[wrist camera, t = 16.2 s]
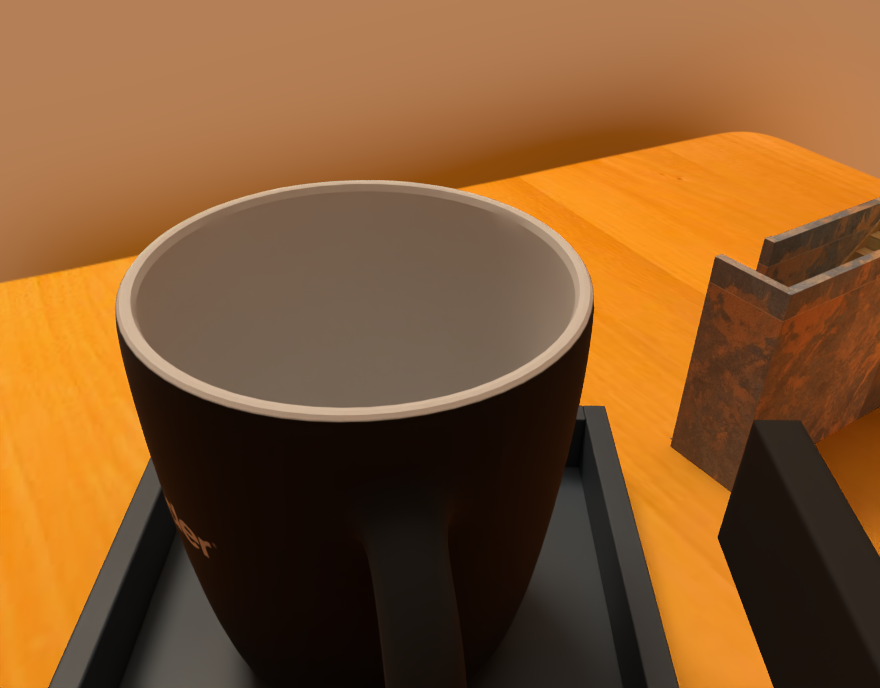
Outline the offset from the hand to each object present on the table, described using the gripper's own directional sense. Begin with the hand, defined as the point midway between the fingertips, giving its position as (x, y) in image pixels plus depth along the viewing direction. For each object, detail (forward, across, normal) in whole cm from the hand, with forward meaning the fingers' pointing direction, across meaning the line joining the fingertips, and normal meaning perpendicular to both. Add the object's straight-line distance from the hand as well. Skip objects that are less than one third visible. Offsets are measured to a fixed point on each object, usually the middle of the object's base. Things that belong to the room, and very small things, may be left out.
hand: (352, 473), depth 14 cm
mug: (+2, 0, -8) cm, 9 cm away
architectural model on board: (+13, +15, -9) cm, 22 cm away
